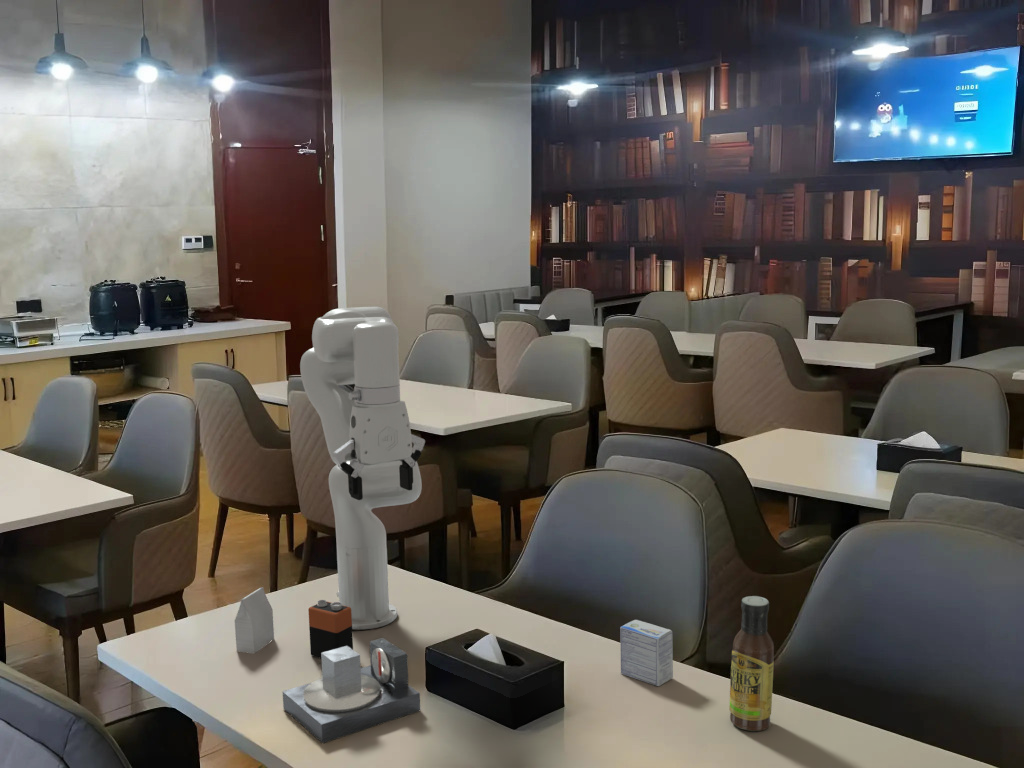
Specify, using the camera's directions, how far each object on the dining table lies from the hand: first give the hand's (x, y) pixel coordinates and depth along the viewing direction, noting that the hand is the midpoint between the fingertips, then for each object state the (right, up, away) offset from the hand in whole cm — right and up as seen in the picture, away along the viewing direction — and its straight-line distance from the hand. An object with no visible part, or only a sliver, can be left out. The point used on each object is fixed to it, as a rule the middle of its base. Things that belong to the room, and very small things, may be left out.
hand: (381, 493), depth 182 cm
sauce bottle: (+59, -33, -21) cm, 71 cm away
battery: (-10, -30, +7) cm, 32 cm away
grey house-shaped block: (-25, -29, +13) cm, 40 cm away
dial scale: (-3, -33, -14) cm, 36 cm away
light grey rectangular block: (-4, -29, -15) cm, 33 cm away
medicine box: (+45, -31, -4) cm, 55 cm away
